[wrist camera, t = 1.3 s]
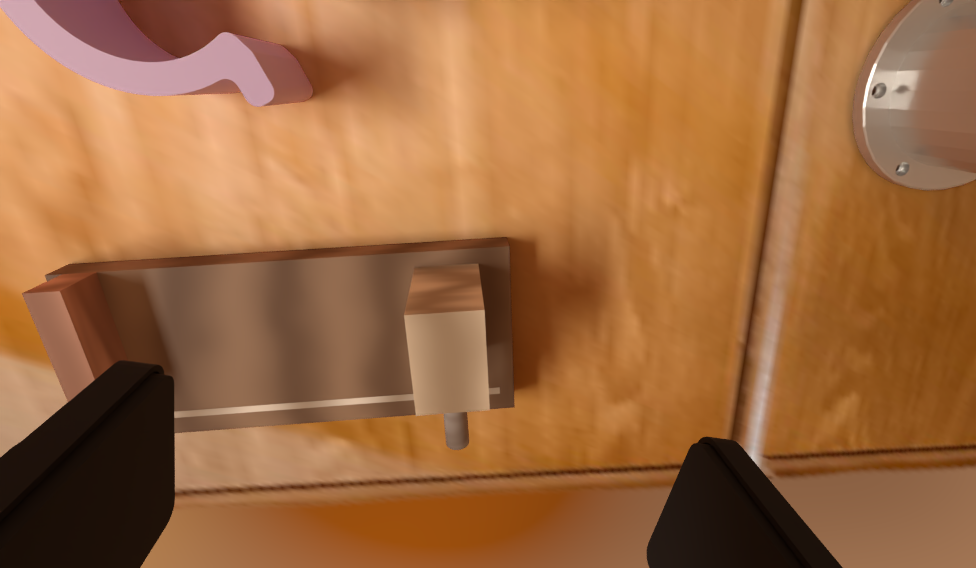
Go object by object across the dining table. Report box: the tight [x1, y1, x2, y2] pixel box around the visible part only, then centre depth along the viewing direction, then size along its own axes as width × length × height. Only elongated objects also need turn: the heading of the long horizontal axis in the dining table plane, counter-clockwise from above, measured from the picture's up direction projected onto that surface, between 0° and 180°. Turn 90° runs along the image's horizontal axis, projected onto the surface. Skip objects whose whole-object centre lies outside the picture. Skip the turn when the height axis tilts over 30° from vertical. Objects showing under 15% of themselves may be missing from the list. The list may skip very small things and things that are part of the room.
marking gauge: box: [404, 264, 490, 450], centre depth 30 cm, size 4×10×7 cm, turn 3°
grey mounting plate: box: [22, 237, 514, 433], centre depth 32 cm, size 28×12×5 cm, turn 93°
